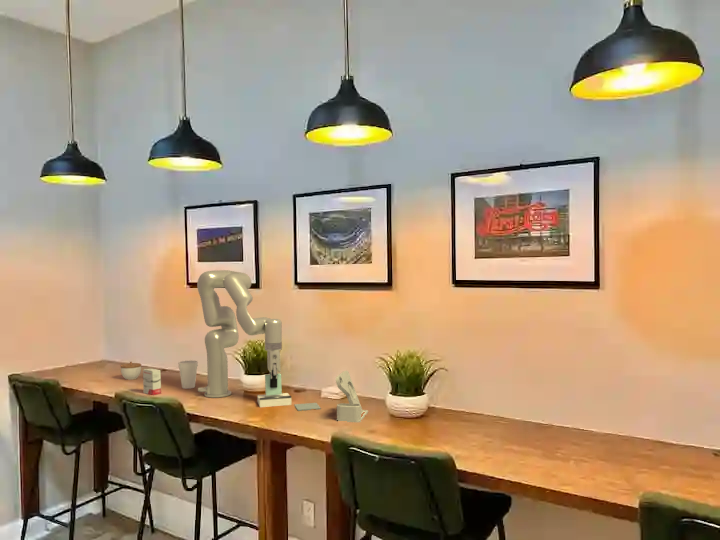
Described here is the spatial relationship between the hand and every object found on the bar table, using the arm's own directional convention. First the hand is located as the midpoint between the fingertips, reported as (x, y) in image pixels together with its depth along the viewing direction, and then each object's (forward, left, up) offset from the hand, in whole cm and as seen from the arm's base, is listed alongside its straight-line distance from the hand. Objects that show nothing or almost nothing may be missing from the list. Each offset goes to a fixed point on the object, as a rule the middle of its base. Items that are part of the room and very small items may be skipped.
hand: (273, 386), depth 272 cm
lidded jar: (-69, +82, -8) cm, 107 cm away
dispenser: (0, 0, -8) cm, 8 cm away
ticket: (0, 0, -4) cm, 4 cm away
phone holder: (+28, -33, -8) cm, 44 cm away
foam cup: (-38, +48, -8) cm, 61 cm away
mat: (+13, -12, -8) cm, 20 cm away
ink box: (-55, +39, -8) cm, 67 cm away
